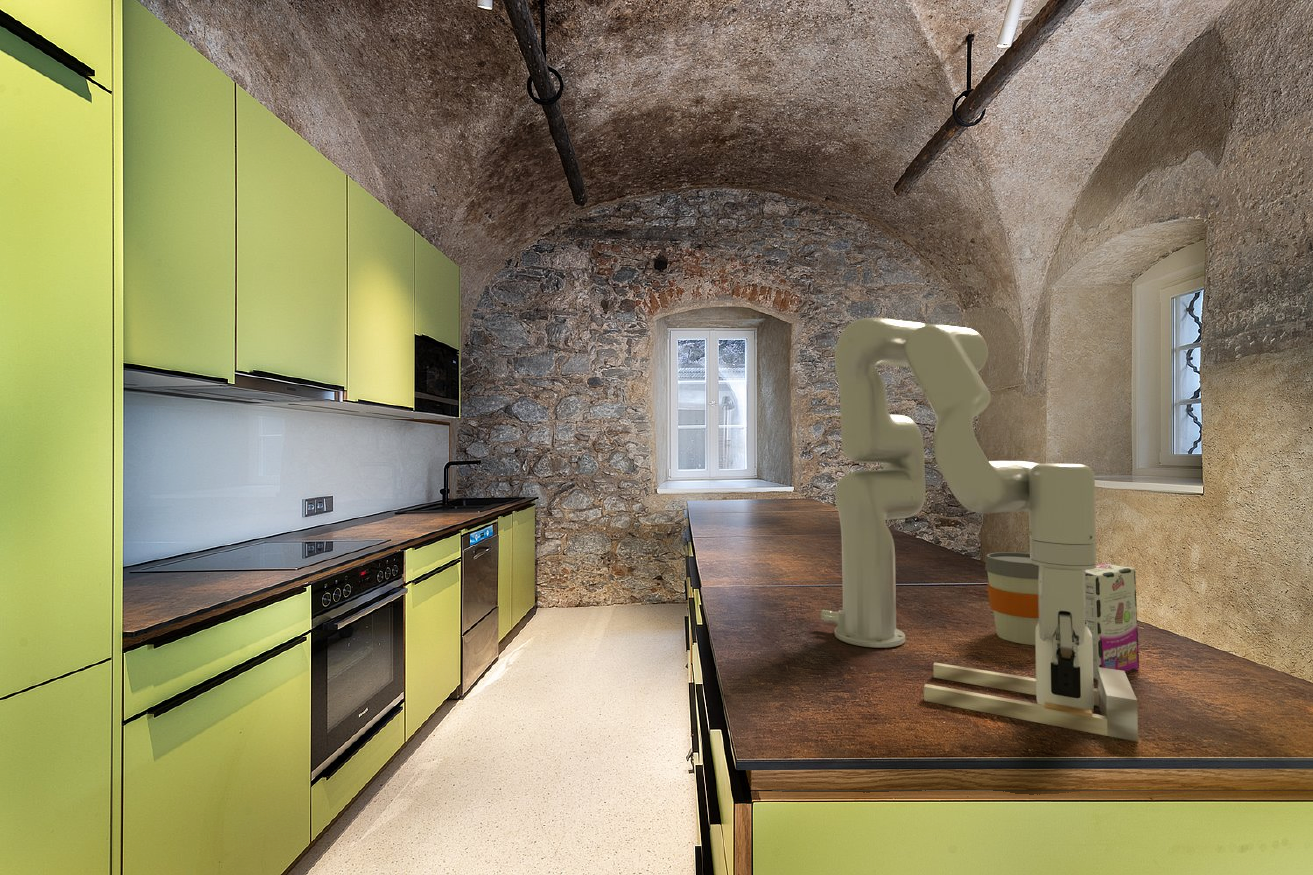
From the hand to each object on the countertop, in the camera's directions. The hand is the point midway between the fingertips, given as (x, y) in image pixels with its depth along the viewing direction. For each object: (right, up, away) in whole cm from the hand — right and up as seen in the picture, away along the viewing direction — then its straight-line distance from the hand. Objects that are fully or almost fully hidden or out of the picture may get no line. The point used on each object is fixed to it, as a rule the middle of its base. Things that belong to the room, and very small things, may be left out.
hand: (1064, 684), depth 83 cm
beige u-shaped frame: (-5, -4, +3) cm, 7 cm away
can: (0, -3, 0) cm, 3 cm away
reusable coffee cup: (+14, -4, +32) cm, 35 cm away
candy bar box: (+16, -4, +15) cm, 22 cm away
